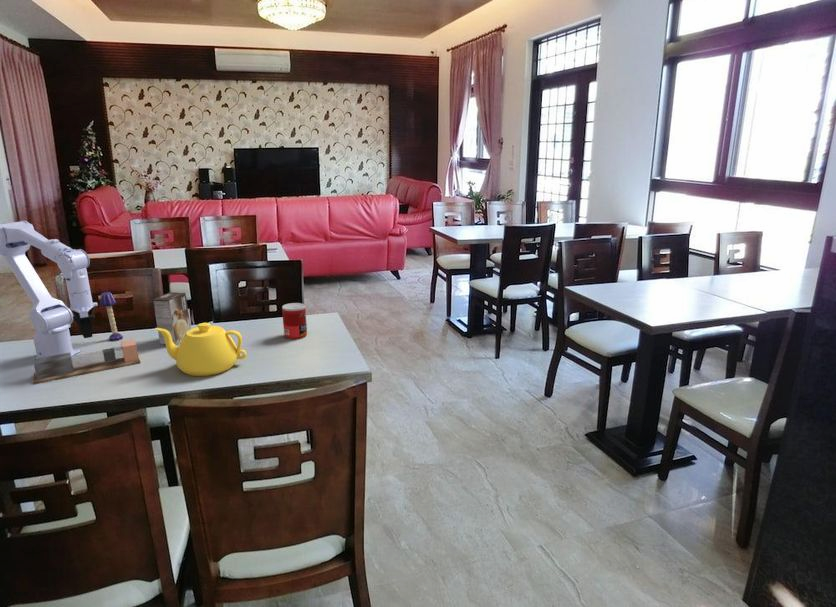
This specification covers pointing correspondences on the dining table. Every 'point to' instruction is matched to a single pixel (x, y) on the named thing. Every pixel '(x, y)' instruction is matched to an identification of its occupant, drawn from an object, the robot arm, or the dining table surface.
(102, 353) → the grey banded bar
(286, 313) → the canned food
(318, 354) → the dining table surface
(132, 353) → the peach-orange block
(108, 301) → the toy lamp
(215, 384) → the dining table surface
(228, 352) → the teapot
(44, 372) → the brown wooden bar
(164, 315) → the coffee box
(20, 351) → the dining table surface
